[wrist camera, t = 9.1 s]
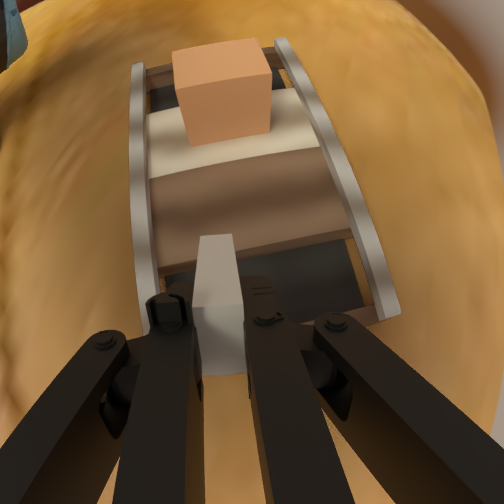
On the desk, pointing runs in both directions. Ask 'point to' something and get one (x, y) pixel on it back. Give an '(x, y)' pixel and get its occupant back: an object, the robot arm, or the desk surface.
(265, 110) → the terracotta block
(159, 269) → the rail track section
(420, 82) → the desk surface
